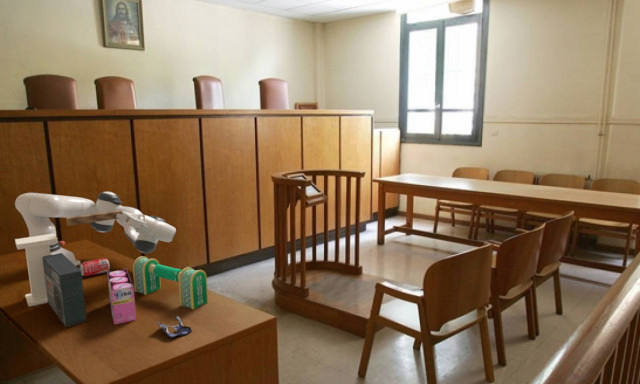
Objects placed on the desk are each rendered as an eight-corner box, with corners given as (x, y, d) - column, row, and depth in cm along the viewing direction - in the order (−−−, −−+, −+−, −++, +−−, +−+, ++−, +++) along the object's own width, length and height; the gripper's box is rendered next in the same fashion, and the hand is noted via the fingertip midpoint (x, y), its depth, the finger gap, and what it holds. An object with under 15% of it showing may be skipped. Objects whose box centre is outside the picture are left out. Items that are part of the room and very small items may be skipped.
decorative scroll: (208, 302, 185) (206, 267, 182) (192, 310, 178) (190, 273, 175) (150, 285, 203) (148, 253, 201) (134, 292, 196) (131, 259, 194)
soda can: (105, 266, 226) (79, 272, 218) (105, 254, 223) (79, 260, 215) (110, 274, 221) (83, 280, 213) (110, 262, 218) (83, 268, 210)
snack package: (189, 322, 168) (155, 327, 164) (188, 307, 166) (155, 312, 162) (192, 342, 158) (157, 348, 153) (192, 327, 155) (156, 332, 151)
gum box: (109, 301, 187) (106, 270, 184) (129, 297, 190) (126, 267, 188) (114, 325, 166) (110, 290, 163) (137, 320, 170) (134, 285, 167)
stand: (60, 289, 199) (53, 232, 195) (64, 298, 190) (57, 238, 185) (22, 297, 191) (14, 238, 186) (25, 307, 182) (17, 245, 177)
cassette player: (48, 303, 186) (42, 256, 182) (66, 298, 190) (61, 252, 187) (65, 327, 165) (59, 275, 161) (86, 321, 169) (81, 270, 166)
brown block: (121, 216, 207) (120, 210, 206) (122, 217, 204) (122, 211, 204) (66, 224, 193) (66, 217, 193) (68, 225, 191) (67, 218, 190)
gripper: (147, 235, 203) (117, 224, 195) (134, 226, 219) (106, 216, 211) (153, 222, 204) (124, 211, 196) (140, 214, 220) (112, 204, 212)
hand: (115, 214), depth 203 cm, fingers closed on brown block, 3 cm apart
